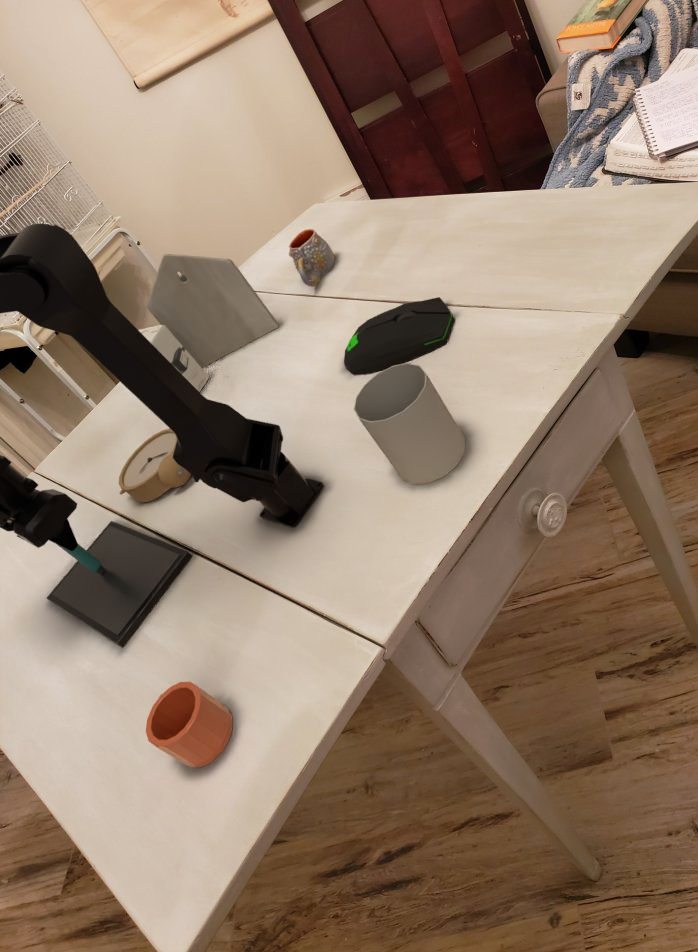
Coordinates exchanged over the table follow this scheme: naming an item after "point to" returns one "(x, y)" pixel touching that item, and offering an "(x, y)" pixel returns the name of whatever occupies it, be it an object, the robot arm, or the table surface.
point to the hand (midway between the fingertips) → (71, 546)
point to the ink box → (176, 354)
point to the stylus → (86, 559)
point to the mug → (311, 256)
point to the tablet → (120, 581)
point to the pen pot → (189, 725)
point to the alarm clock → (153, 468)
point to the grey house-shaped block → (208, 306)
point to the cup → (410, 423)
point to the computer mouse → (399, 336)
